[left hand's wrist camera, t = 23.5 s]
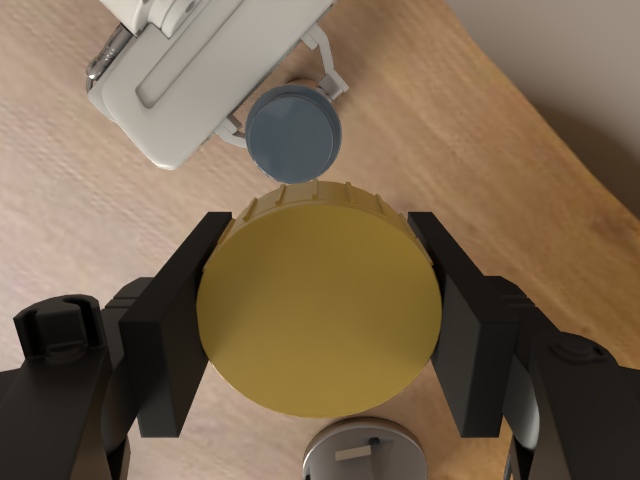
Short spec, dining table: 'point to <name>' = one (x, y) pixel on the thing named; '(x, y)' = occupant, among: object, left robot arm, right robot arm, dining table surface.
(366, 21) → the dining table surface
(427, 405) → the dining table surface
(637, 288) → the dining table surface
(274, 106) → the jar
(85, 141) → the dining table surface
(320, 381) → the lid
